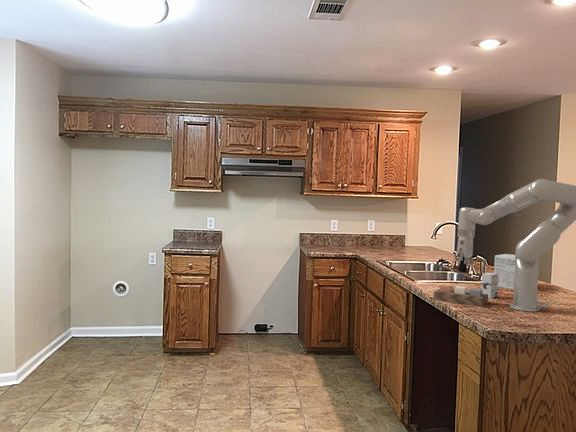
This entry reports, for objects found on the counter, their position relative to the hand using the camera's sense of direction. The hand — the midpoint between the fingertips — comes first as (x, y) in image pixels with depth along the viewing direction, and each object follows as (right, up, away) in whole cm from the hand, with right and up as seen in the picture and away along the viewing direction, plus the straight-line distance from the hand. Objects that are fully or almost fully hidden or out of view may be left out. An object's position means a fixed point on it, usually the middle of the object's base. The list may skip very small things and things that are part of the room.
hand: (462, 272), depth 230 cm
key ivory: (0, -11, +1) cm, 11 cm away
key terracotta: (-6, -11, +5) cm, 13 cm away
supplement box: (+42, -13, +42) cm, 61 cm away
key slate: (+5, -12, -3) cm, 13 cm away
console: (-1, -14, +1) cm, 14 cm away
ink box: (+18, -14, +13) cm, 27 cm away
